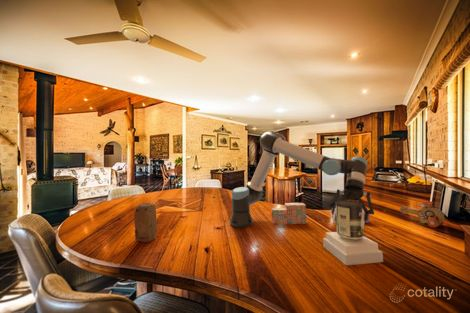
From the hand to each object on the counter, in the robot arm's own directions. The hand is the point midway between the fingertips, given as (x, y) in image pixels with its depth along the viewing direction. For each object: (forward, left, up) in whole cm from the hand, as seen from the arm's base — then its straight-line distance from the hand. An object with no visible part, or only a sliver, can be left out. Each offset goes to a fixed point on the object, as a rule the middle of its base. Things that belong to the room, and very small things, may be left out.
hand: (347, 224), depth 81 cm
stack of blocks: (-9, +45, -14) cm, 48 cm away
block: (-97, +33, -14) cm, 103 cm away
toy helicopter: (+69, +28, -14) cm, 76 cm away
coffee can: (+2, +2, -6) cm, 6 cm away
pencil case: (+30, +39, -14) cm, 51 cm away
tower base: (+2, +2, -14) cm, 14 cm away
